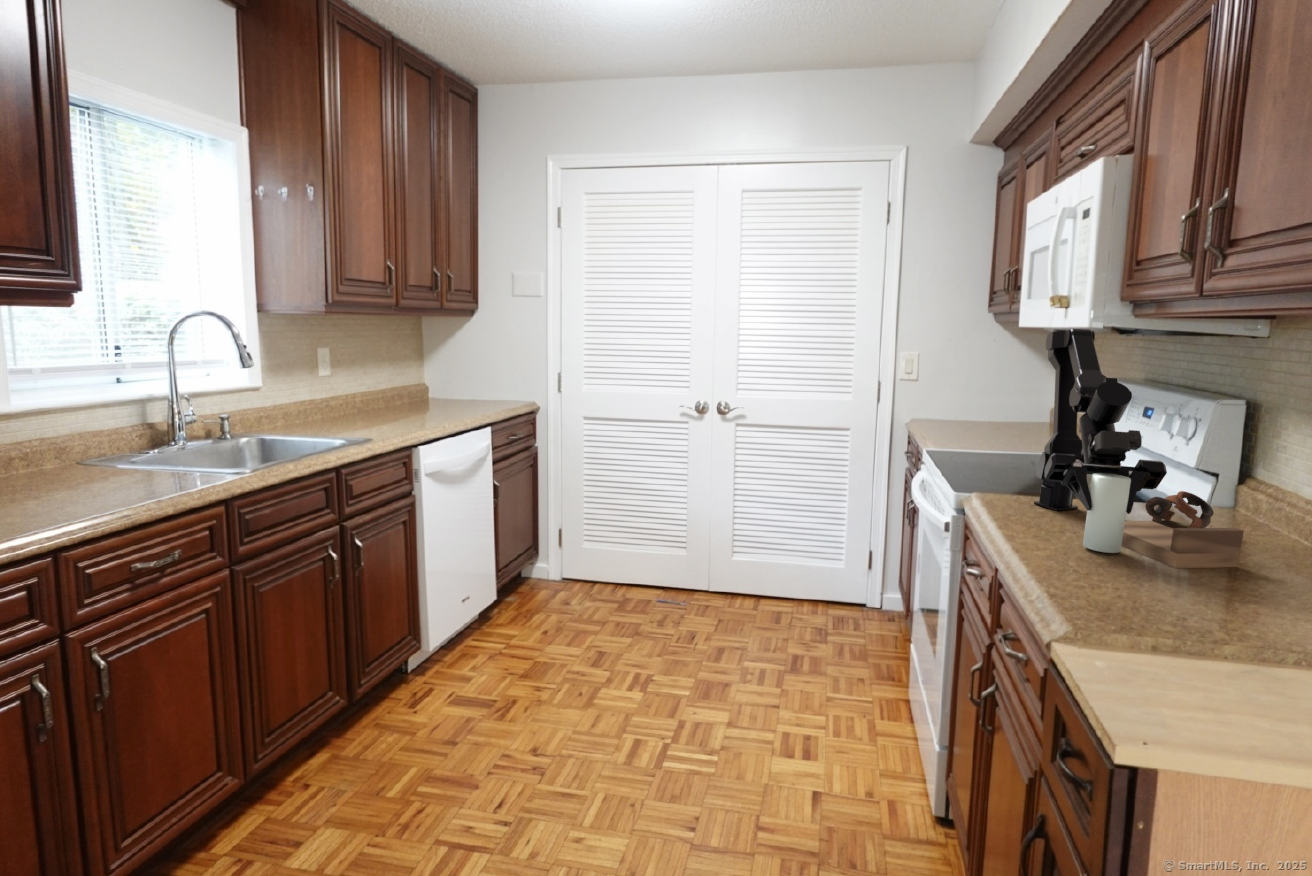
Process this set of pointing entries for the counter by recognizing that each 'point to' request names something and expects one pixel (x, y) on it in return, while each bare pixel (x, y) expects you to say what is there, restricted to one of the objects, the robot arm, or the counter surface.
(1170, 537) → the walnut shelf board
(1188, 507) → the rusty ring shackle
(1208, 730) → the counter surface
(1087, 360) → the robot arm
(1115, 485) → the pale upright pillar block
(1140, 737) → the counter surface
